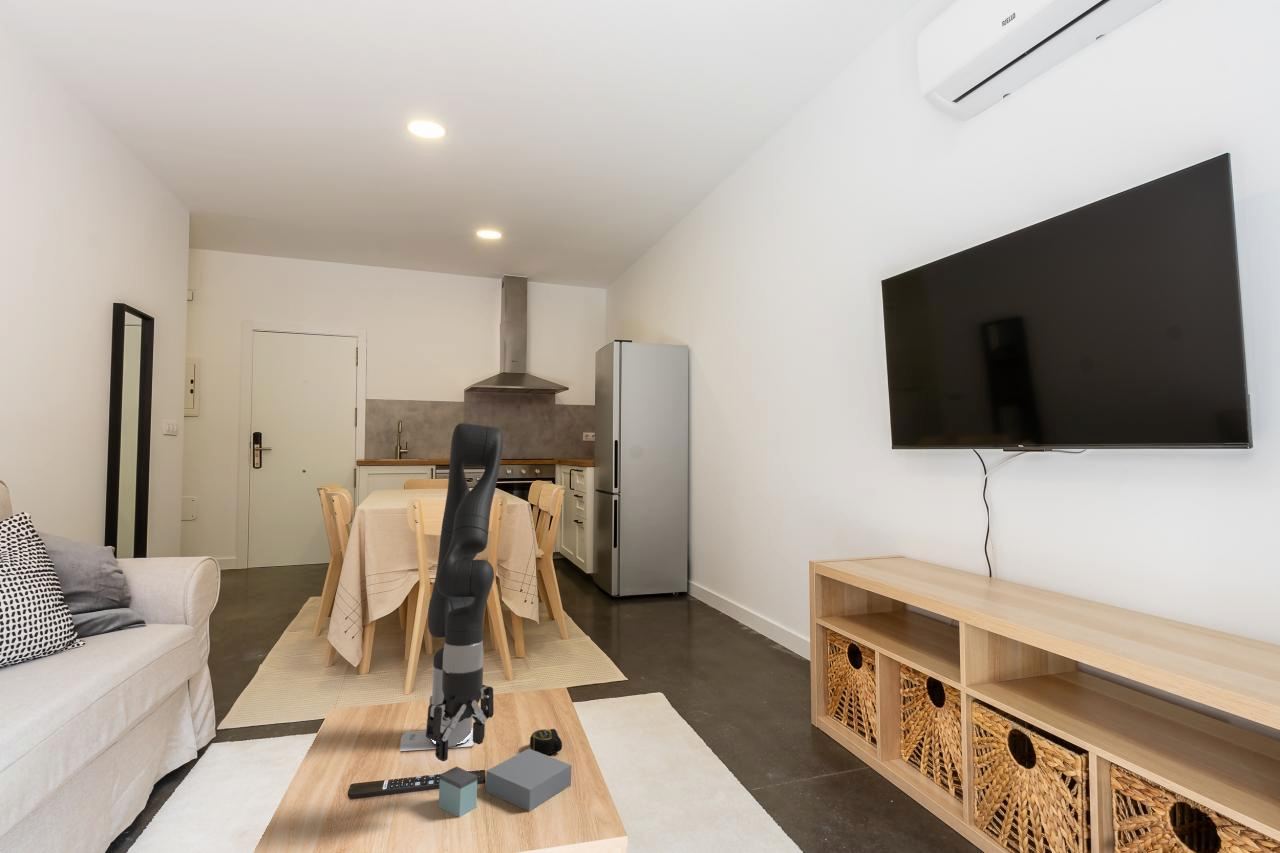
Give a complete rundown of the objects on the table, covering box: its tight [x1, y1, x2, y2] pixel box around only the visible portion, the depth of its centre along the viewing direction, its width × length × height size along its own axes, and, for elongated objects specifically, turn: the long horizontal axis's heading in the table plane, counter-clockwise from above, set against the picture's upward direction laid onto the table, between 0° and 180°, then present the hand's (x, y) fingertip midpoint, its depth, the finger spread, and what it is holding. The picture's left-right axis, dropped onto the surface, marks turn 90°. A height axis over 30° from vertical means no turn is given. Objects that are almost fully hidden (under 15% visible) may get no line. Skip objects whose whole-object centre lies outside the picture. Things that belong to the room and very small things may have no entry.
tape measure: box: [529, 728, 563, 756], centre depth 144 cm, size 7×7×4 cm
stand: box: [485, 748, 572, 812], centre depth 128 cm, size 12×12×4 cm
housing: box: [438, 766, 478, 818], centre depth 121 cm, size 6×4×6 cm, turn 56°
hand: (460, 751), depth 121 cm, fingers open, 8 cm apart
